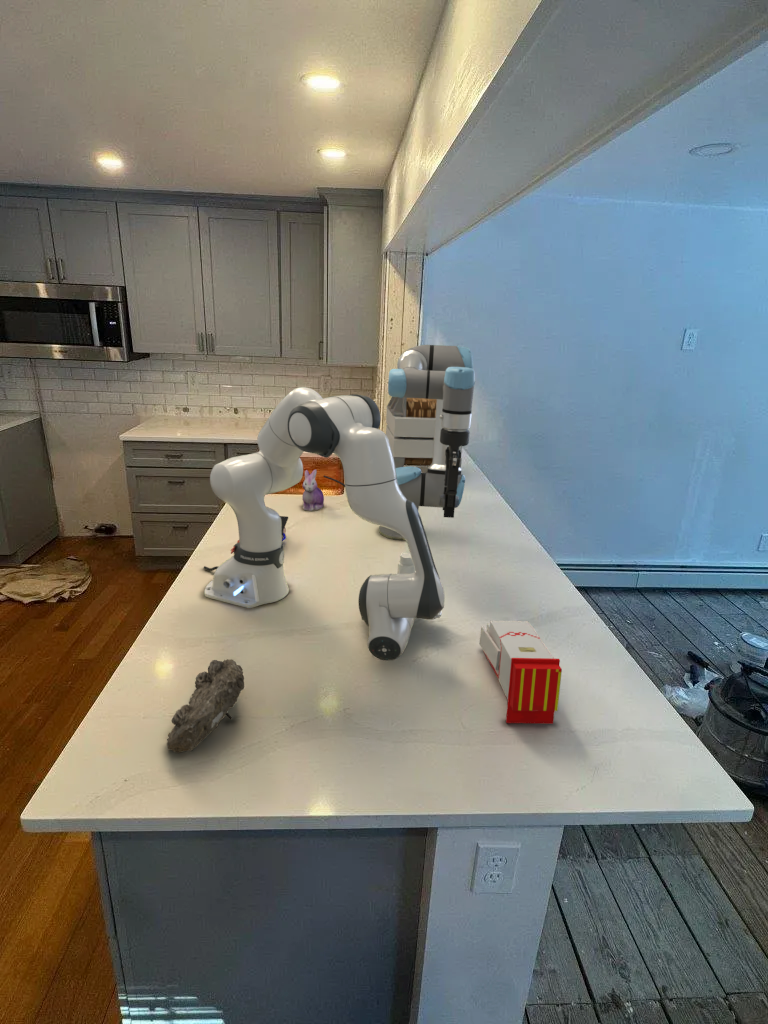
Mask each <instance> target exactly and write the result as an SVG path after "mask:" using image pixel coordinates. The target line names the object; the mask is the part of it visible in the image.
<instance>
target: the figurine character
mask: <svg viewBox="0 0 768 1024" xmlns="http://www.w3.org/2000/svg"><path fill="white" fill-rule="evenodd" d="M279 516H280V517H281V525H282V542H283V543H284V541H285V540H287V536H286V532H287V530H286V528H287V527H286V525H287V522H288V520H289V516H287V515H286V516H285V515H279Z"/></svg>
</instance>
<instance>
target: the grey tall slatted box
mask: <svg viewBox="0 0 768 1024" xmlns="http://www.w3.org/2000/svg"><path fill="white" fill-rule="evenodd" d="M436 402H437V399H425V398H399V397H392V396H391V398H390V400H389V402H388V404H387V405H386V413H385V414H386V415H385V423H386V428H385V434H386V436H387V438H388V440H389V443H390V447H391V450H392V454H393V458H394V463H395V468H399V467H405V466H406V467H407V466H412V467H417V466H418V467H429V466H430V465H431V464H432V461H433V447H434V432H435V417H436ZM459 450H461V454H462V453H463V446H460V447H459ZM462 461H463V460H462V457H461V459H460V469H461V470H462Z"/></svg>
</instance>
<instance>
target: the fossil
mask: <svg viewBox="0 0 768 1024" xmlns="http://www.w3.org/2000/svg"><path fill="white" fill-rule="evenodd" d="M243 670H244V669H243V667H242V665H240V664H237V662H236V661H235V660H234V659H232V658H231V659H227V658H226V659H224V660H223V661H222V660H217V659H212V660H211V661H210V663H209V665H208V666H207V671H201V672H199V673H198V674H197V675H196V676H195V680H194V684H195V685H194V687H195V689H194V690H193V693H192V694H191V697H190V698H189V700H188V704H184V705H182V706H181V707H180V709H177V710H176V711H175V713H174V715H173V716H172V718H171V723H172V724H173V727H172V730H171V731H170V732H168V734H167V738H166V741H167V742H166V745H167V749H168V750H169V751H173V752H174V753H176V754H178V753H182V752H188V751H189V752H192V751H193V750H195V748H196V747H197V746H199V744H200V743H201V742H203V741H204V740H205V739H206V738H207V737H208V736H209V735H210V734H211V733H212V732H214V730H215V729H217V727H218V726H219V724H220V722H221V721H222V720H223V719H224V718H225V716H226V717H227V719H229V720H233V717H232V715H230V714H229V710H230V709H231V708H234V706H235V704H236V703H237V702H238V699H239V697H240V695H241V693H242V691H243V690H245V689H244V688H245V675H244V671H243Z"/></svg>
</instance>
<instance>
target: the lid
mask: <svg viewBox="0 0 768 1024" xmlns="http://www.w3.org/2000/svg"><path fill="white" fill-rule="evenodd" d="M444 504H445V494H443V495H441V496H440V501H439V505H440V506H441V507H444ZM458 505H459V497H458V496H456V498H455V509H457V508H458V507H459V506H460V505H459V506H458ZM441 507H440V508H441Z"/></svg>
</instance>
